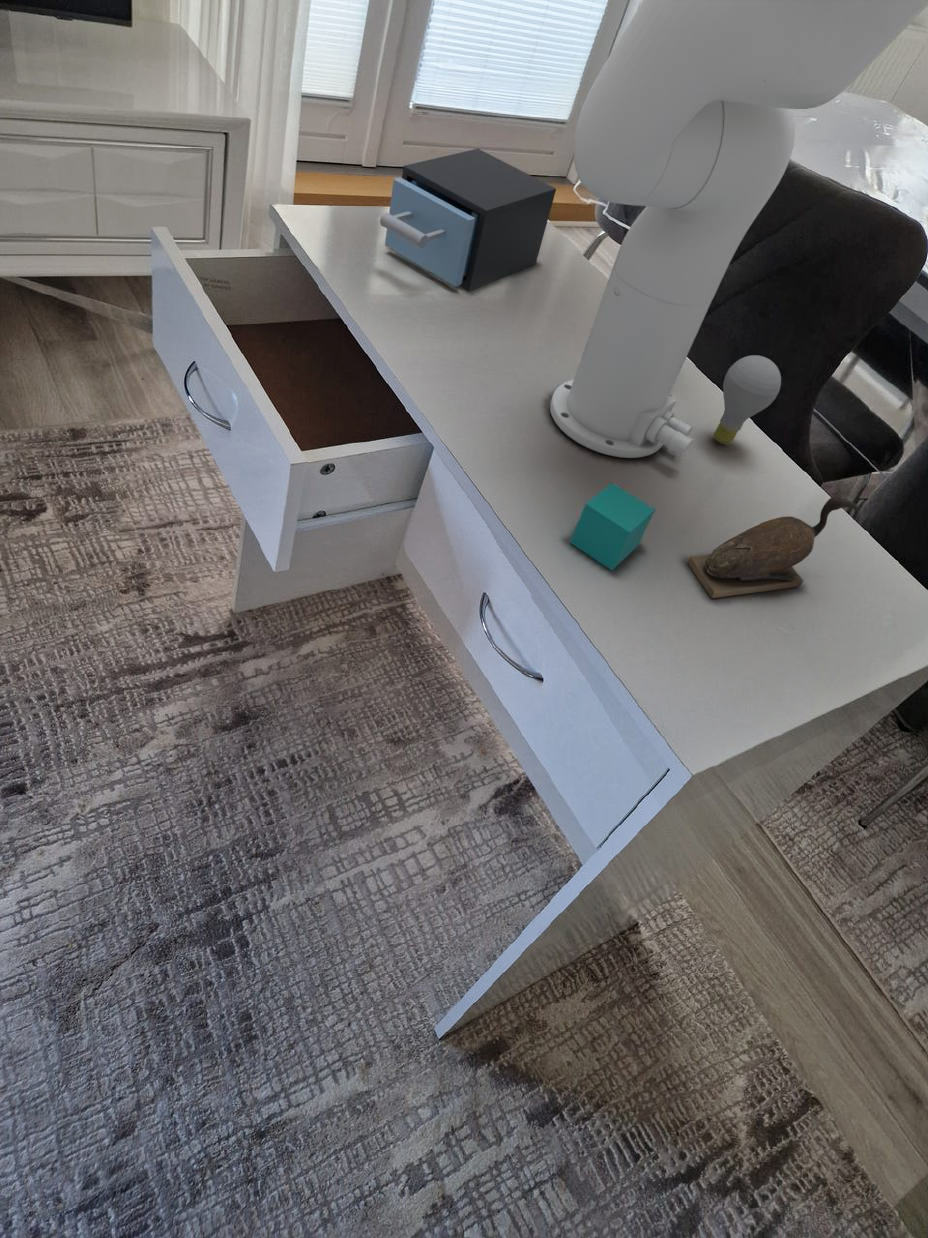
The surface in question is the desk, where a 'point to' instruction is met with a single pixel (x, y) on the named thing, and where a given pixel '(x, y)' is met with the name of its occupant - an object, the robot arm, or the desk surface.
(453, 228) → the blue drawer
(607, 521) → the teal cube
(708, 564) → the figurine
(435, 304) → the desk surface
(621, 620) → the desk surface
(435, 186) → the drawer cabinet
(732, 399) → the light bulb
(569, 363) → the desk surface
